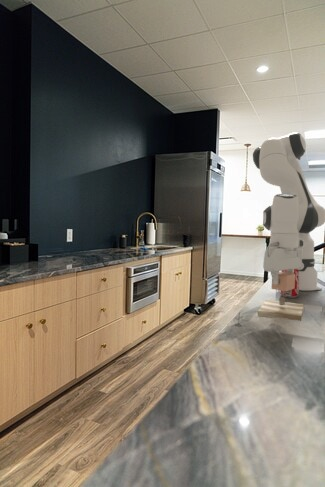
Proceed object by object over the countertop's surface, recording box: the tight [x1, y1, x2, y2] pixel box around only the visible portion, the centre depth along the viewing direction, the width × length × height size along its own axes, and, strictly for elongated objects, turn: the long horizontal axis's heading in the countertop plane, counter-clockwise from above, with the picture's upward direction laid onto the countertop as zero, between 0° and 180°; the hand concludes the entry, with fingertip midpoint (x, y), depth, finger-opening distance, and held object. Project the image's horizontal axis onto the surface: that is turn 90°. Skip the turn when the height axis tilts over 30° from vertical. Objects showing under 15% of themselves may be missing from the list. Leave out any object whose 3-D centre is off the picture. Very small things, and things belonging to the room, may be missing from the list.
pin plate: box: [257, 296, 305, 322], centre depth 111 cm, size 17×13×5 cm
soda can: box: [280, 268, 300, 299], centre depth 135 cm, size 7×7×12 cm
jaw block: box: [271, 271, 295, 292], centre depth 110 cm, size 7×5×5 cm
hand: (282, 282), depth 110 cm, fingers closed on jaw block, 7 cm apart
